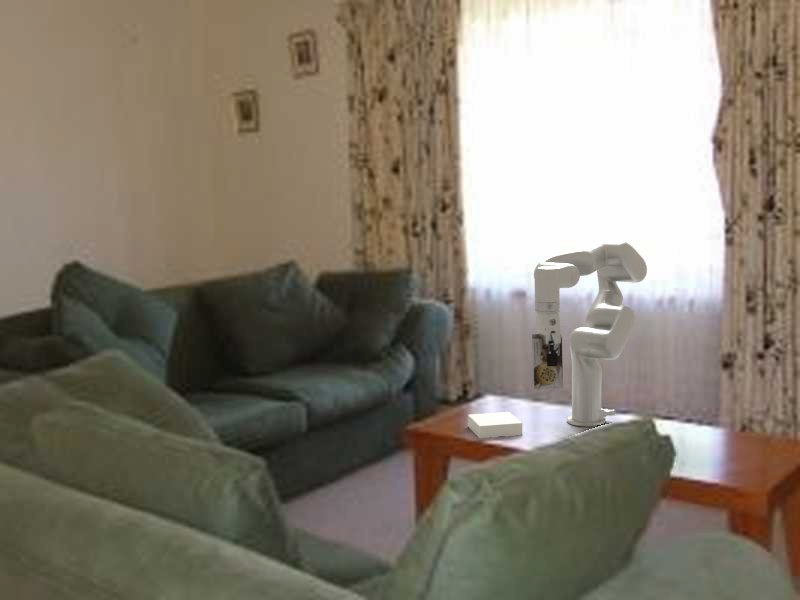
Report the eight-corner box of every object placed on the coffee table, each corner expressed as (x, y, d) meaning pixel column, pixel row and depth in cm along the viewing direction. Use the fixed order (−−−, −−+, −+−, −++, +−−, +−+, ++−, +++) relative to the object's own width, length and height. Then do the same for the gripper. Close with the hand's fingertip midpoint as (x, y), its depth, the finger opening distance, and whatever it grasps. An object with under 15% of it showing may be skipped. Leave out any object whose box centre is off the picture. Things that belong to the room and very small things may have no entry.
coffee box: (561, 383, 301) (561, 333, 299) (563, 389, 295) (563, 337, 292) (532, 384, 302) (531, 333, 300) (533, 389, 296) (532, 337, 293)
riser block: (509, 423, 319) (509, 411, 318) (522, 435, 305) (522, 422, 305) (468, 426, 316) (468, 414, 316) (479, 438, 303) (479, 426, 302)
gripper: (569, 310, 287) (569, 368, 290) (549, 301, 304) (549, 356, 307) (544, 312, 285) (545, 370, 288) (526, 303, 302) (527, 358, 305)
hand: (547, 362), depth 297 cm, fingers closed on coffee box, 7 cm apart
